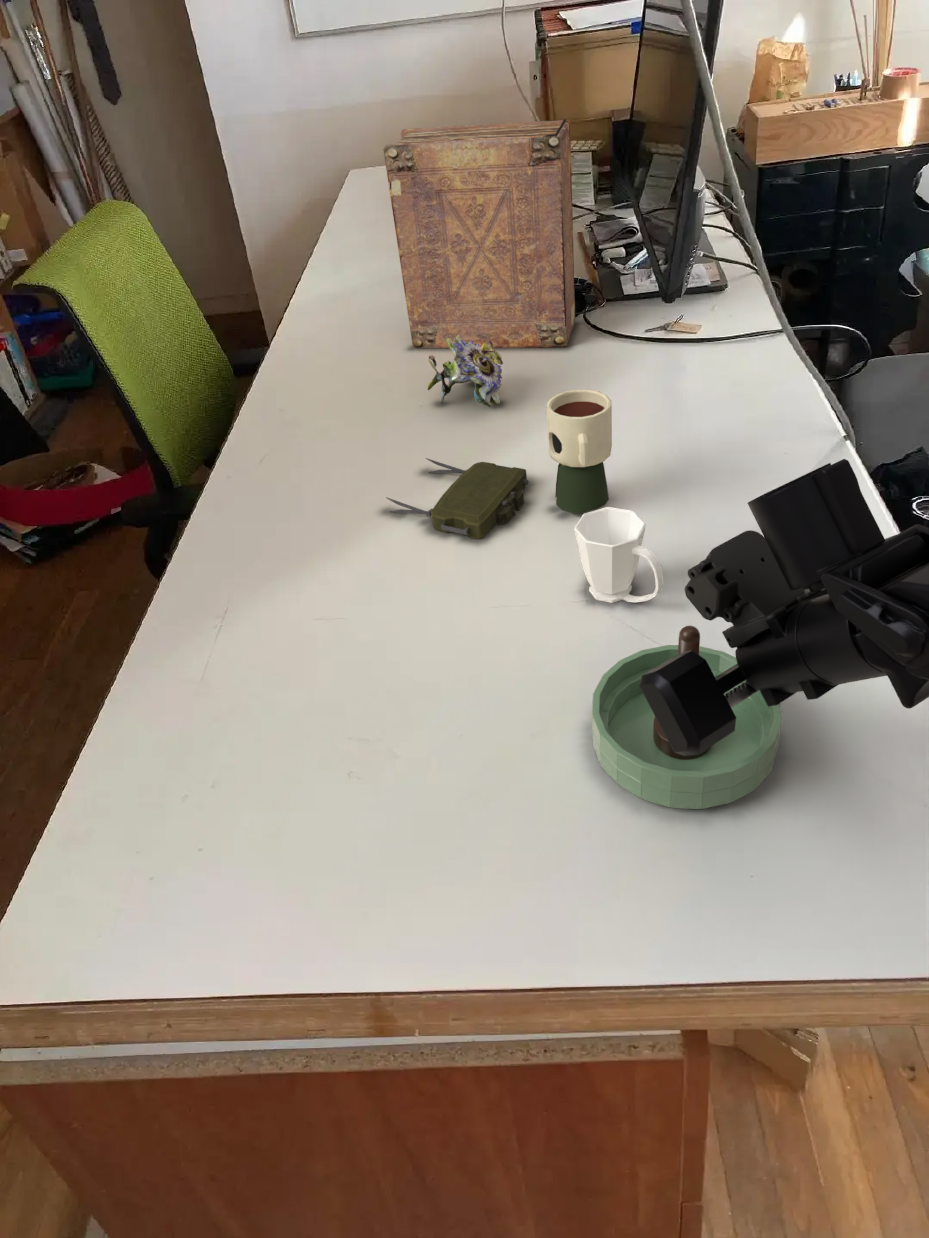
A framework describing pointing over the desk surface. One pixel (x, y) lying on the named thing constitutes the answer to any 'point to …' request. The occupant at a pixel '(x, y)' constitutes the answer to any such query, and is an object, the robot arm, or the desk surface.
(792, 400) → the desk surface
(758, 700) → the bowl
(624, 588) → the cup
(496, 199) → the book
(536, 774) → the desk surface
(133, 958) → the desk surface
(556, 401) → the character mug
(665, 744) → the knob-topped peg stand
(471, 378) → the passion flower
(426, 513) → the landmine
